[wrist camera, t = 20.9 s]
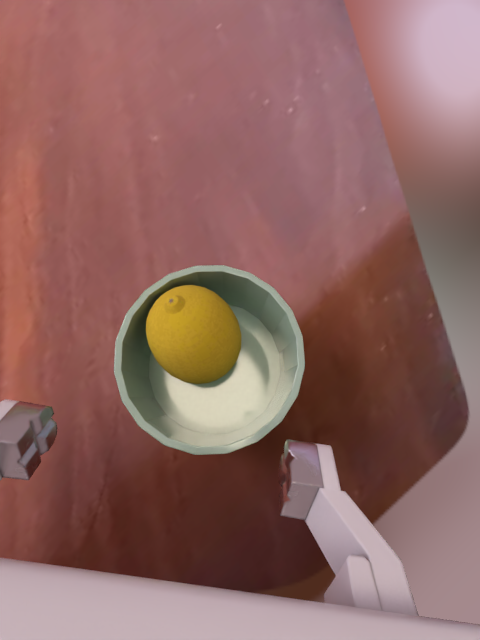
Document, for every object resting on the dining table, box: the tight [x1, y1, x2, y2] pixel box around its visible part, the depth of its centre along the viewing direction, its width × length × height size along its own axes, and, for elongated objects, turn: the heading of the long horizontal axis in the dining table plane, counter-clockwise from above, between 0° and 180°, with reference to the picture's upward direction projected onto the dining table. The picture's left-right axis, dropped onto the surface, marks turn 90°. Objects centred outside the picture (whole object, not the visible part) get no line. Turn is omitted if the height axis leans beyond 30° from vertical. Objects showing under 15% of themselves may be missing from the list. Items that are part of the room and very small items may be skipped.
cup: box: [114, 265, 305, 455], centre depth 21 cm, size 10×10×7 cm
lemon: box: [146, 285, 241, 384], centre depth 20 cm, size 6×6×8 cm
